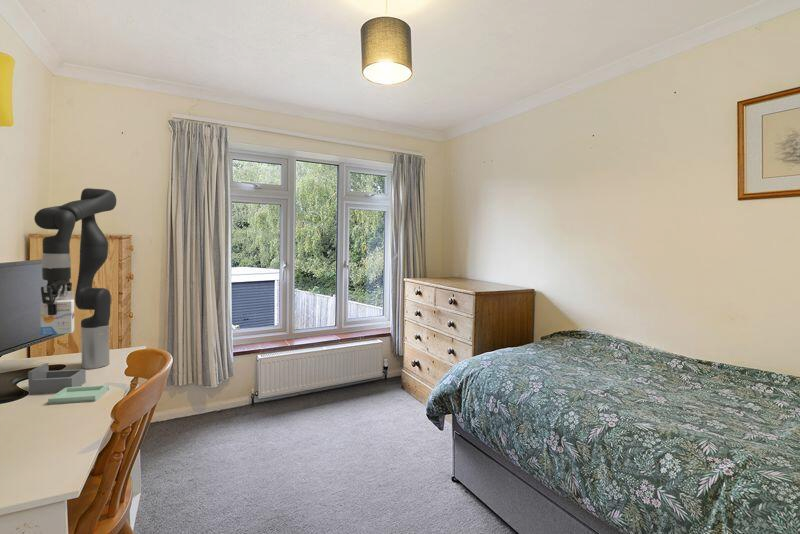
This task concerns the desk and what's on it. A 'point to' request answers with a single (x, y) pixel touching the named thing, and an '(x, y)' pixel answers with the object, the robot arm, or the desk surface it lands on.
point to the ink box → (59, 316)
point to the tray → (78, 394)
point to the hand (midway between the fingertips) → (57, 313)
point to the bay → (54, 379)
